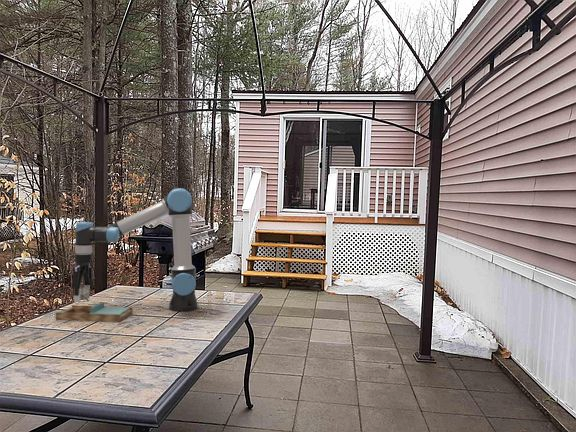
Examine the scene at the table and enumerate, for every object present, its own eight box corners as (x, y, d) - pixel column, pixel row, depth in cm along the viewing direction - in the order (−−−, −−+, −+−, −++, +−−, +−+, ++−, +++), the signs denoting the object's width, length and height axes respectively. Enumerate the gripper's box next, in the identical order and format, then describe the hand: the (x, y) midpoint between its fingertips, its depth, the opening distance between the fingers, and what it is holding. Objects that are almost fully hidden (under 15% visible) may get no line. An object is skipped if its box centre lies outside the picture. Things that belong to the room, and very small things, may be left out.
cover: (129, 309, 209) (129, 303, 209) (118, 316, 196) (119, 309, 196) (101, 308, 209) (102, 301, 209) (89, 314, 197) (89, 307, 196)
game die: (84, 309, 202) (85, 295, 196) (68, 302, 202) (68, 288, 196) (95, 296, 209) (96, 283, 204) (79, 290, 209) (80, 276, 204)
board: (132, 314, 210) (132, 307, 210) (119, 322, 195) (120, 315, 195) (72, 311, 211) (72, 305, 211) (55, 319, 196) (55, 312, 196)
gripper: (86, 251, 213) (85, 295, 213) (64, 255, 192) (62, 304, 193) (101, 251, 213) (99, 296, 213) (80, 256, 192) (78, 305, 192)
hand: (81, 300), depth 203 cm, fingers closed on game die, 8 cm apart
